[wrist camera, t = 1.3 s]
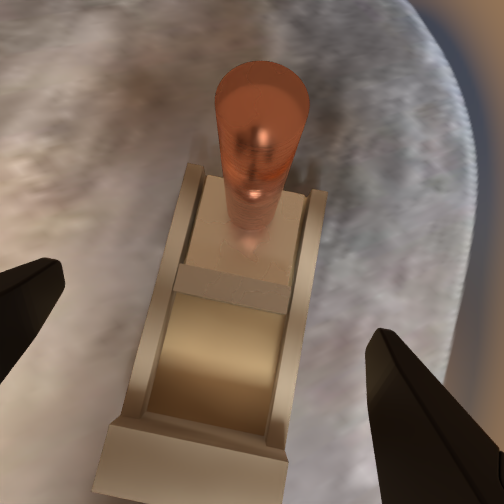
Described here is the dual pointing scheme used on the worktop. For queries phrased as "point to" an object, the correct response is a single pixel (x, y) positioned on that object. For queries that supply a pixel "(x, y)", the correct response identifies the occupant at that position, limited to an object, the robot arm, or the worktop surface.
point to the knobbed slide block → (250, 193)
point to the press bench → (210, 383)
